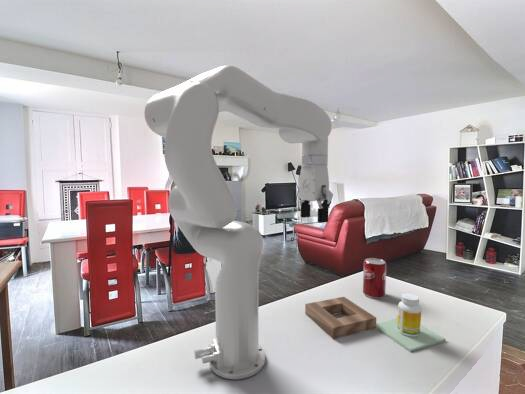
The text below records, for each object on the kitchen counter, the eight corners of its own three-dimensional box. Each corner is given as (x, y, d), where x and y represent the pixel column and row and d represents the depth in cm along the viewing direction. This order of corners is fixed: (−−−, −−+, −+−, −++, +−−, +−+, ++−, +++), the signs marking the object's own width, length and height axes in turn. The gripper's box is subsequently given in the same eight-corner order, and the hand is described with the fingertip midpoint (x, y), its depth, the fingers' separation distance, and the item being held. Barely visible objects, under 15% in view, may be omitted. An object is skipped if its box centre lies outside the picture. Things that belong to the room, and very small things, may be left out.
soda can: (366, 299, 95) (367, 264, 94) (360, 290, 102) (361, 257, 101) (388, 299, 94) (390, 264, 93) (380, 290, 102) (381, 257, 101)
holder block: (332, 339, 72) (333, 327, 72) (305, 313, 85) (305, 304, 85) (376, 328, 77) (376, 317, 77) (343, 305, 90) (343, 296, 90)
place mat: (410, 351, 67) (410, 349, 67) (373, 326, 78) (373, 324, 78) (445, 340, 71) (445, 338, 71) (405, 318, 82) (405, 316, 82)
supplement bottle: (392, 328, 76) (393, 293, 75) (407, 324, 78) (409, 290, 77) (409, 339, 71) (410, 302, 70) (424, 335, 73) (426, 299, 72)
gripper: (289, 162, 90) (289, 216, 91) (319, 160, 74) (318, 225, 75) (310, 163, 92) (309, 214, 94) (343, 161, 76) (342, 223, 78)
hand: (313, 219), depth 84 cm, fingers open, 9 cm apart
